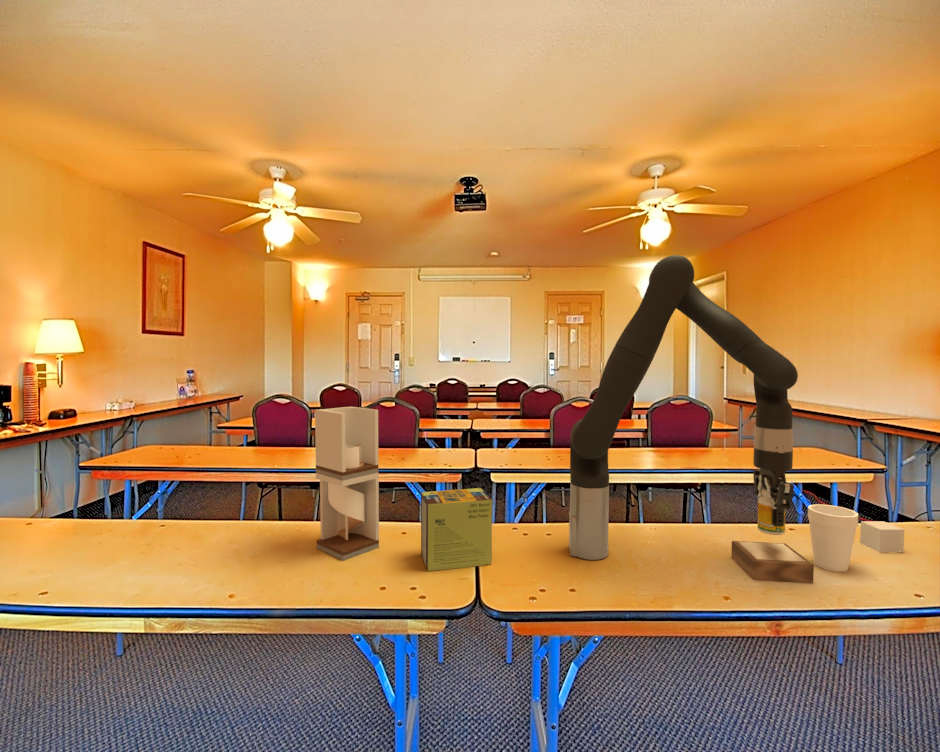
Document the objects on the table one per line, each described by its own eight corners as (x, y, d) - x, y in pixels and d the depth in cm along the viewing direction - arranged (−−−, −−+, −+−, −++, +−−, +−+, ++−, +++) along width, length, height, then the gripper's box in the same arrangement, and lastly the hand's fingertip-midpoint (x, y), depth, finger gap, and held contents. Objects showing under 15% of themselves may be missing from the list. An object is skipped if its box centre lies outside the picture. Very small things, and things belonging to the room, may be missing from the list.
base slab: (753, 579, 106) (754, 560, 106) (731, 557, 118) (731, 539, 118) (813, 583, 105) (813, 563, 105) (784, 559, 117) (785, 542, 117)
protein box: (492, 565, 114) (493, 499, 113) (427, 572, 110) (427, 504, 109) (480, 547, 124) (480, 487, 123) (420, 553, 120) (420, 491, 119)
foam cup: (850, 561, 116) (852, 507, 115) (862, 577, 107) (864, 519, 107) (802, 554, 120) (804, 502, 119) (810, 569, 111) (812, 513, 111)
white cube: (879, 553, 121) (880, 529, 121) (859, 544, 127) (860, 521, 127) (903, 553, 121) (904, 529, 121) (883, 543, 127) (883, 521, 127)
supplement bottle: (764, 525, 115) (765, 485, 115) (789, 532, 110) (790, 490, 110) (752, 530, 112) (753, 488, 112) (777, 537, 107) (779, 494, 107)
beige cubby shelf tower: (316, 548, 123) (315, 409, 122) (352, 536, 131) (350, 406, 130) (343, 560, 116) (341, 413, 114) (378, 547, 124) (378, 409, 122)
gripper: (741, 441, 118) (740, 510, 119) (770, 453, 104) (768, 531, 104) (775, 442, 117) (773, 511, 118) (808, 454, 103) (806, 533, 103)
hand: (771, 520), depth 111 cm, fingers closed on supplement bottle, 5 cm apart
